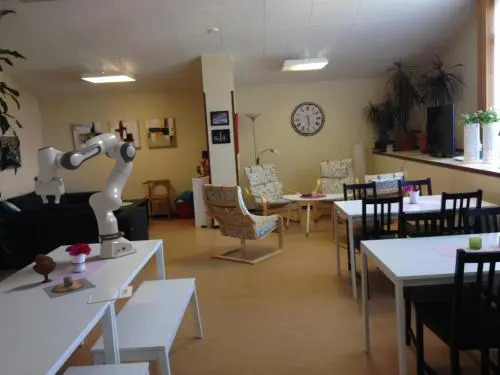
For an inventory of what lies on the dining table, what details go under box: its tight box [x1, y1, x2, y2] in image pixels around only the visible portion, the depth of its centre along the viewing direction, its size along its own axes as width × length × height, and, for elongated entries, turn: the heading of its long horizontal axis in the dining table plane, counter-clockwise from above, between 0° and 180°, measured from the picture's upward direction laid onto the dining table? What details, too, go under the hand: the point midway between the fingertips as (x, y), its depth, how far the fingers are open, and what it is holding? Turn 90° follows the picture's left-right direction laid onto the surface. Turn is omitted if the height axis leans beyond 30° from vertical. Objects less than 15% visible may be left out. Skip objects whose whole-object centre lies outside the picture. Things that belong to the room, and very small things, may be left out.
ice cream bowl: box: [32, 253, 57, 284], centre depth 222 cm, size 11×11×15 cm
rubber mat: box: [42, 277, 97, 299], centre depth 210 cm, size 20×20×1 cm
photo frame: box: [87, 285, 133, 305], centre depth 196 cm, size 15×1×18 cm
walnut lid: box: [53, 275, 84, 293], centre depth 210 cm, size 14×14×5 cm
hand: (51, 203), depth 234 cm, fingers open, 8 cm apart
